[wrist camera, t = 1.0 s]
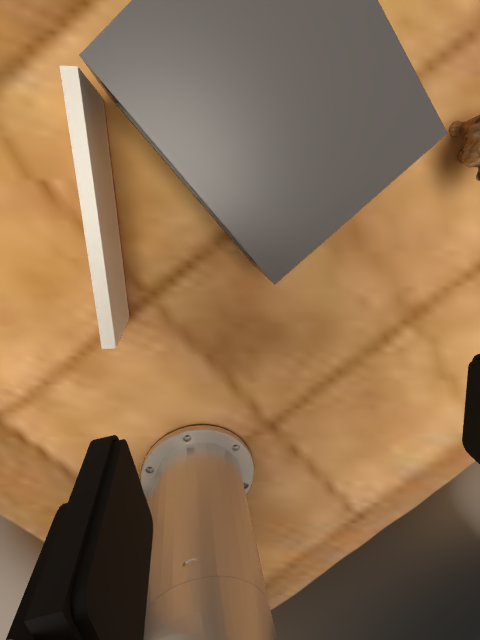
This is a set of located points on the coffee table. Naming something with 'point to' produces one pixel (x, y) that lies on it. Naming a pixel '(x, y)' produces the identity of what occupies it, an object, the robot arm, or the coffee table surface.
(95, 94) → the side door
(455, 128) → the lion figurine
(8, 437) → the coffee table surface
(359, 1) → the gray cabinet
